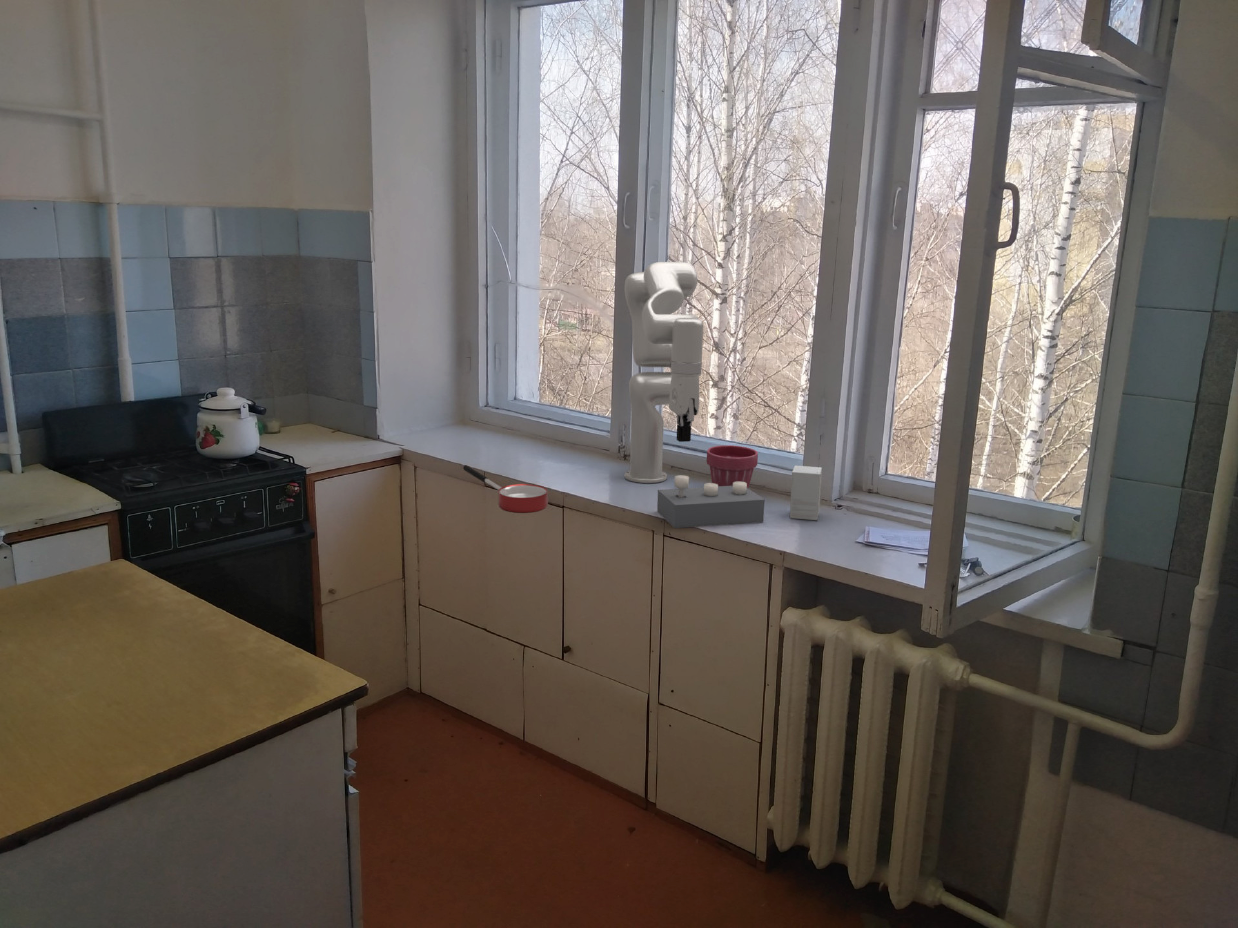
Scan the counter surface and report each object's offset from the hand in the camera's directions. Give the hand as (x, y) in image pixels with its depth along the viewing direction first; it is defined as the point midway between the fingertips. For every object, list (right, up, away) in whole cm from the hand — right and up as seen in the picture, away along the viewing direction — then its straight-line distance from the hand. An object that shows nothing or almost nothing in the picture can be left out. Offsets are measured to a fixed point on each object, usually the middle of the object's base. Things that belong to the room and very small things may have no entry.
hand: (683, 440), depth 240 cm
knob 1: (0, -16, +4) cm, 17 cm away
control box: (+7, -20, +7) cm, 22 cm away
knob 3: (+15, -18, +9) cm, 25 cm away
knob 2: (+7, -18, +7) cm, 21 cm away
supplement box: (+32, -20, +10) cm, 39 cm away
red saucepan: (-49, -16, +19) cm, 55 cm away
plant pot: (+15, -15, +28) cm, 35 cm away
